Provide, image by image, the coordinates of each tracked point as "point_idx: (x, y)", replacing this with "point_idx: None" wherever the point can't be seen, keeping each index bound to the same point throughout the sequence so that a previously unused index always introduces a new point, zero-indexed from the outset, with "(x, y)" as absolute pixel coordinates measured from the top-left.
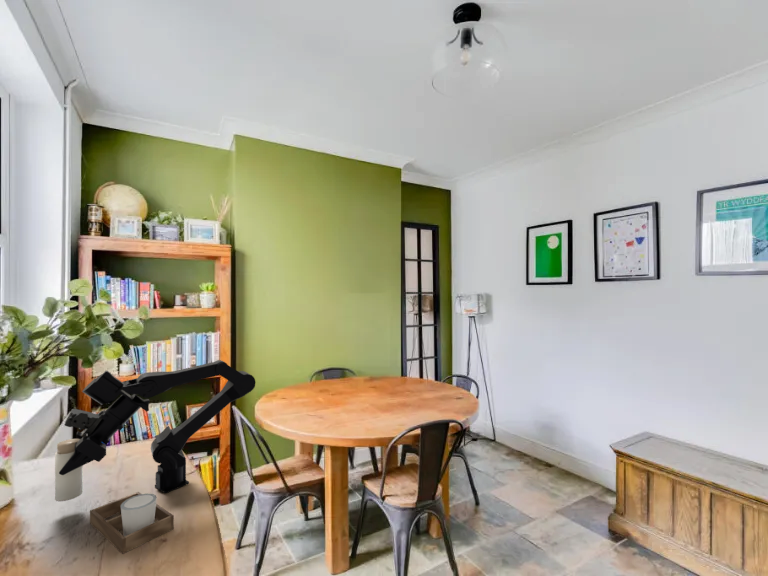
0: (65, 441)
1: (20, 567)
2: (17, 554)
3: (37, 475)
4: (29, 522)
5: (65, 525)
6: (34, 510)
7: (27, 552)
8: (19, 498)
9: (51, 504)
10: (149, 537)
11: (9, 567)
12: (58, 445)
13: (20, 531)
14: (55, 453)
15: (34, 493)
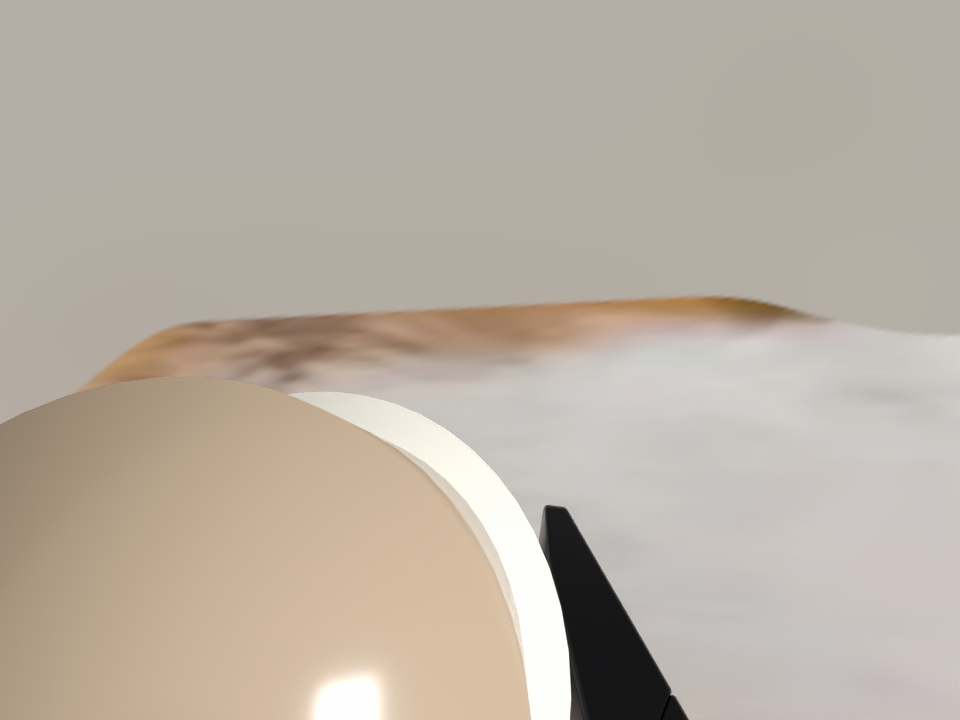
0: (315, 678)
1: (129, 359)
2: (235, 347)
3: None
4: (494, 378)
5: None
6: (622, 395)
7: (218, 376)
8: (837, 335)
9: (644, 465)
10: None
11: (164, 330)
12: (41, 407)
13: (429, 350)
14: (310, 398)
15: (869, 395)
